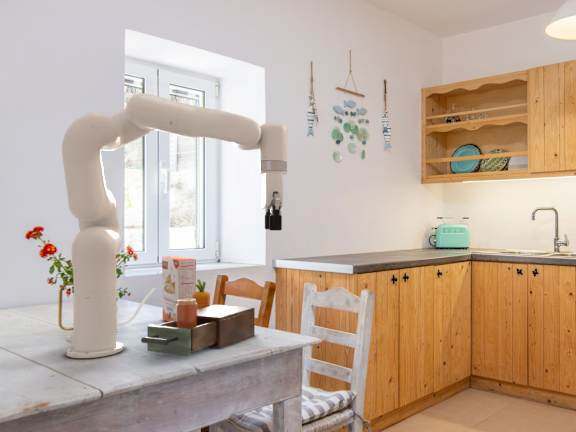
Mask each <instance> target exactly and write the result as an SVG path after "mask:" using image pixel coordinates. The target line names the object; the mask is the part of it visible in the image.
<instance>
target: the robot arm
mask: <svg viewBox="0 0 576 432" xmlns="http://www.w3.org/2000/svg"><path fill="white" fill-rule="evenodd" d="M153 131H160V132H165V133H168V134H172V135H176V136H181V137H185V138H189V139H198V138H199V139H200V138H208V139H216V140H220V141H224V142H229V143H232V145H233V146H234V147H235V148H236V149H238V150H241V151H253V150H259V162H258V163H259V165H258V166H259V174H261V175H262V178H261V179H262V180H261V202H260V203H261V205H260V207H261V209H264V210H265V213H264V229H265V230H269V231H282V230H283V228H282V227H283V223H282V222H283V221H282V220H283V216H282V208H283V205H284V175H287V174H288V129H287V126H286V125H284V124H282V123H277V122H270V123H269V122H267V123H263V124H261V125H259V123H258V122H257V121H256V120H255V119H253V118H250V117H248V116H245V115H242V114H241V115H240V114H237V113H233V112H229V111H226V110H220V109H215V108H207V107H204V106H196V105H193V104H188V103H184V102H180V101H177V100H176V101H175V100H173V99H169V98H165V97H161V96H158V95H153V94H150V93H141V92H139V93H136V94H133V95H132V96H131V97H130V98H129V99H128V100H127V103H126V108H124V109H122V110H120V111H118V112H115V113H114V114H112V115H109V114H108V113H105V112H102V111H92V112H88V113H85V114H83V115H81V116H79V117H77V118H76V119H75V120H74V121H73V122H71V124H69V126H68V127H67V129H66V131H65V133H64V135H63V139H62V144H61V145H62V146H61V155H62V165H63V172H64V180H65V186H66V194H67V202H68V208H69V211H70V213H71V214H72V215H73V216H74V217H75V218H76V219H77V220H78V227H79V228H78V229H79V232H78V233H77V234H76V236H75V237H74V239H73V241H72V244H71V263H72V277H73V332H72V333H71V334H70V335H68V336H66V337H65V339H64V340H65V342H66V343H70V344H71V345H70V346H71V347H69V348H68V349H66V351H65V352H66V353H65V355H66V356H67V357H68V358H72V359H93V358H95V359H96V358H101V357H107V356H111V355H116V354H119V353H120V352H122V351H123V350H124V344H123V343H122V342H118V341H117V339H118V338H117V332H118V329H117V326H118V325H117V323H118V320H117V319H118V316H117V315H118V313H117V311H118V309H117V307H118V304H117V302H118V299H117V298H118V296H117V295H118V290H117V289H118V288H117V286H118V285H117V281H118V279H117V278H118V277H117V255H118V254H119V252H120V251H121V248H122V234H121V229H120V228H121V227H120V221H119V214H118V208H117V203H116V200H115V197H114V195H113V193H112V192H111V191H110V190H109V189H108V188H107V185H106V179H105V175H104V174H105V173H104V166H103V165H104V164H103V161H102V151H106V152H111V151H115V150H118V149H120V148H122V147H124V146H126V145H128V144H130V143H132V142H134V141H136V140H138V139H140V138H142V137H144V136H146V135H148V134H150V133H151V132H153Z"/></svg>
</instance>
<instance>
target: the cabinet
mask: <svg viewBox="0 0 576 432" xmlns="http://www.w3.org/2000/svg"><path fill="white" fill-rule="evenodd" d="M255 313H256V312H255V307H252V306H240V305H238V306H237V305H228V304H227V305H226V304H212V305H210V306H208V307H204V308H200V309H197V319H207V320H218V321H217V343H216V344H213V345H210V346H208V347H207V348H208V349H209V348H210V349H218V350H220V349H224V348H225V347H228V346H231V345H234V344H236V343H238V342H242V341H245V340H247V339H249V338H252V337H255V315H256V314H255Z"/></svg>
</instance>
